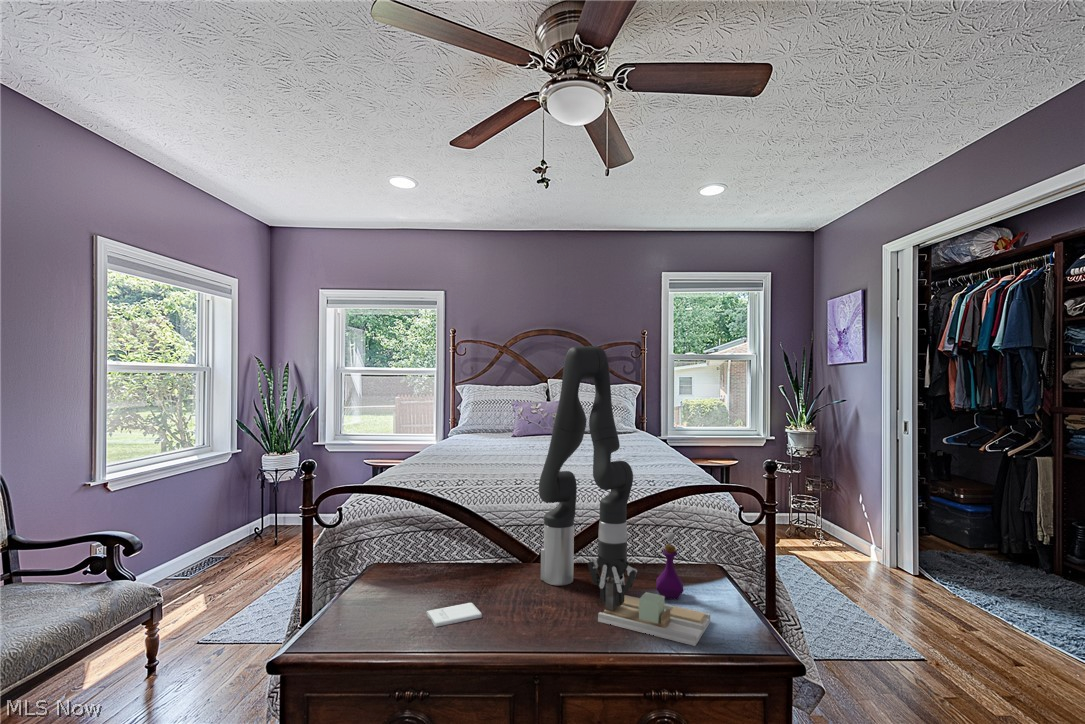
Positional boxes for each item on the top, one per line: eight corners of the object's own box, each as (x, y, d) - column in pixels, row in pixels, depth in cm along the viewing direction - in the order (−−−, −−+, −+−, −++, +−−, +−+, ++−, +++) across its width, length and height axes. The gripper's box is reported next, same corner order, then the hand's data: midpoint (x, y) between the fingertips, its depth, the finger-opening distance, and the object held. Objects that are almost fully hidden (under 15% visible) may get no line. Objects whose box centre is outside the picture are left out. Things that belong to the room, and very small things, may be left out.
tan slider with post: (603, 615, 147) (604, 583, 147) (611, 608, 151) (611, 577, 151) (664, 629, 139) (664, 596, 139) (670, 622, 143) (670, 589, 143)
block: (638, 618, 142) (639, 598, 142) (645, 611, 146) (645, 592, 146) (658, 623, 140) (658, 603, 140) (664, 615, 144) (664, 596, 144)
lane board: (598, 621, 146) (598, 611, 146) (619, 600, 159) (620, 591, 159) (695, 646, 134) (695, 635, 134) (710, 621, 147) (710, 611, 147)
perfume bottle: (683, 602, 158) (684, 538, 158) (656, 600, 160) (656, 536, 160) (682, 592, 166) (682, 530, 166) (656, 590, 167) (656, 528, 167)
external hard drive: (481, 619, 148) (435, 629, 142) (471, 607, 155) (426, 616, 149) (481, 613, 148) (435, 622, 142) (471, 601, 155) (426, 609, 149)
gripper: (582, 537, 149) (581, 603, 149) (633, 546, 142) (632, 615, 142) (594, 530, 155) (593, 593, 155) (643, 538, 148) (642, 604, 148)
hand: (612, 603), depth 148 cm, fingers open, 3 cm apart
